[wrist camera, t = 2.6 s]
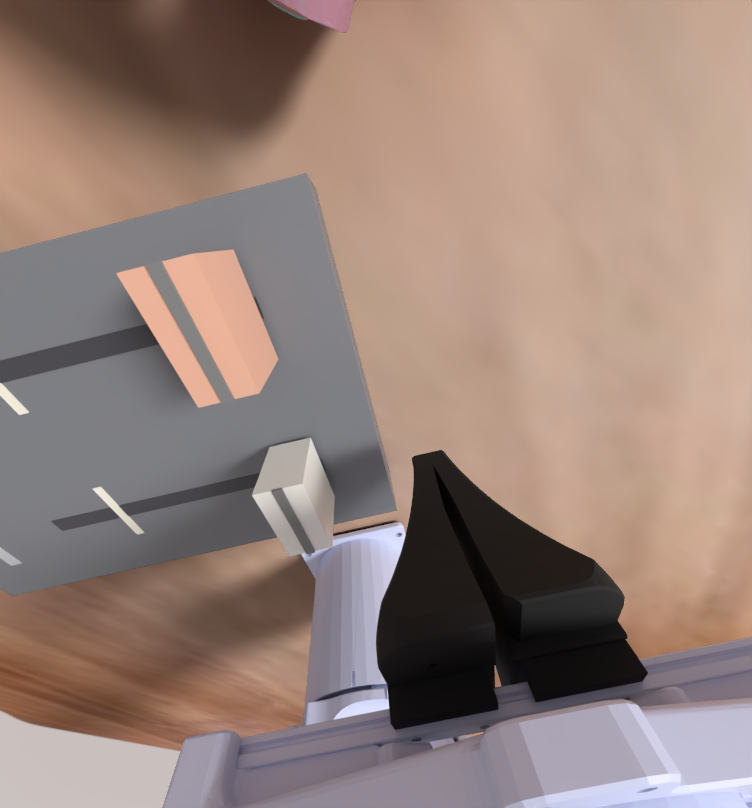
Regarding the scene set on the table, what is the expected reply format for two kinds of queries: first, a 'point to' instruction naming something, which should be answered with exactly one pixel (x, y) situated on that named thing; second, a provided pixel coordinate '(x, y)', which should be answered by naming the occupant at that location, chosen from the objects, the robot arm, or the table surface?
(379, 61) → the table surface
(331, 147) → the table surface
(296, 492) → the fader white
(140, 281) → the fader terracotta
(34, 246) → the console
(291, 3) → the video game controller
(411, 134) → the table surface
